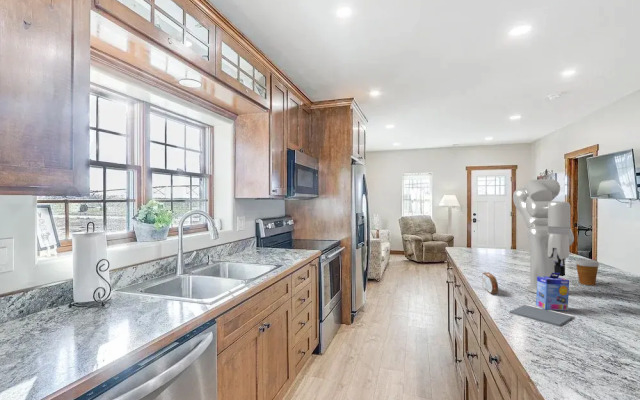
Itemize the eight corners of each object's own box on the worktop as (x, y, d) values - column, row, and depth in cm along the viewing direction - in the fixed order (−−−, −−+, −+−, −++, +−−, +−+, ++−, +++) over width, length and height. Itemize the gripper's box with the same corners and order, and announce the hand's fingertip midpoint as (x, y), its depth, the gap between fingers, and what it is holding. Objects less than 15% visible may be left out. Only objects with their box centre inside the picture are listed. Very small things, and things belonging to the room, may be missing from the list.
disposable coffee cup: (571, 281, 167) (570, 259, 167) (590, 281, 165) (590, 259, 165) (583, 286, 157) (583, 262, 157) (604, 286, 156) (604, 262, 156)
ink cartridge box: (546, 310, 120) (546, 272, 121) (535, 305, 126) (535, 270, 127) (569, 310, 121) (570, 273, 122) (557, 306, 127) (558, 271, 127)
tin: (498, 296, 141) (498, 278, 141) (491, 296, 142) (491, 277, 142) (487, 287, 156) (487, 270, 156) (481, 287, 156) (481, 270, 156)
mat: (525, 305, 128) (525, 304, 128) (573, 317, 115) (573, 315, 115) (509, 312, 120) (509, 311, 120) (559, 326, 107) (559, 324, 107)
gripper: (555, 229, 136) (555, 271, 135) (541, 231, 127) (542, 276, 127) (576, 230, 129) (577, 274, 129) (563, 232, 121) (564, 279, 120)
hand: (559, 275), depth 128 cm, fingers closed
